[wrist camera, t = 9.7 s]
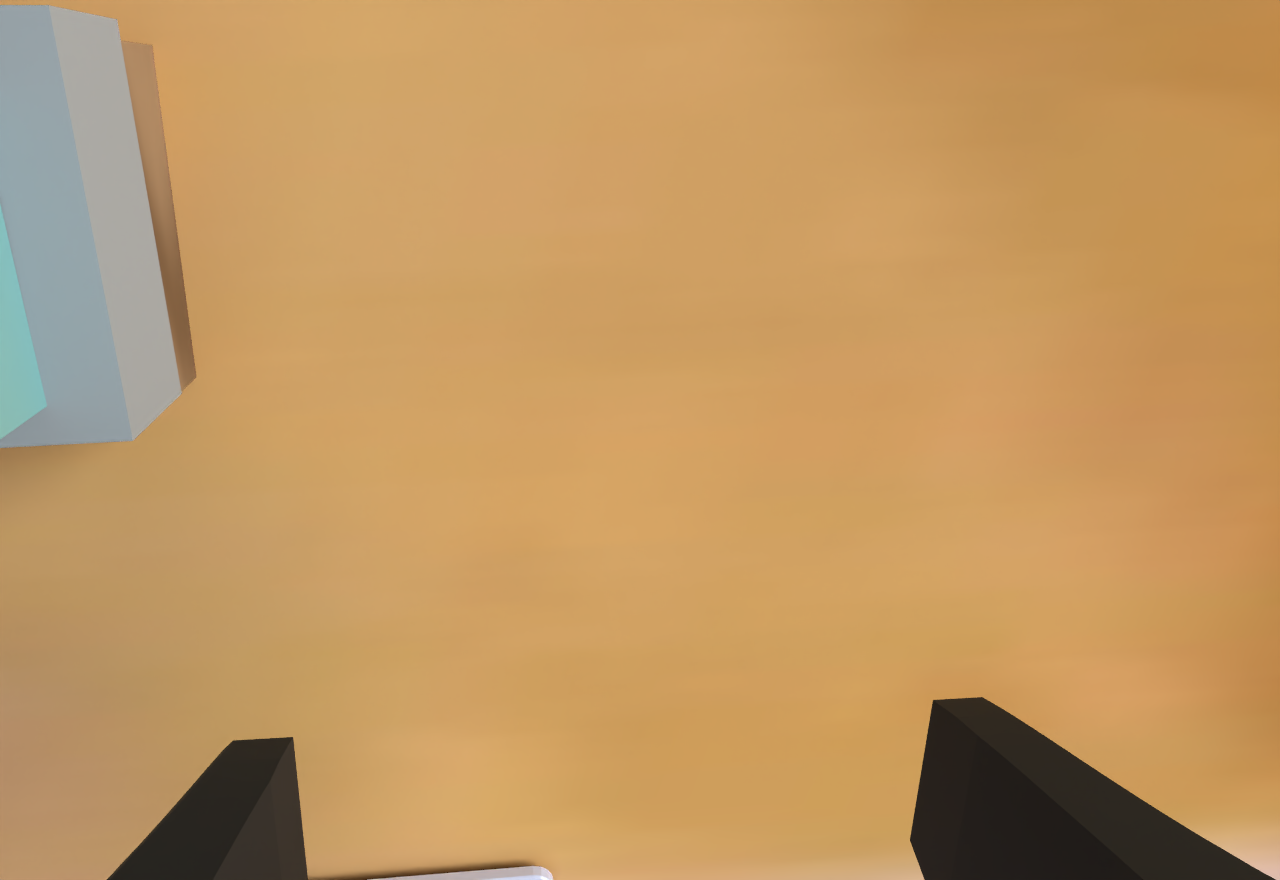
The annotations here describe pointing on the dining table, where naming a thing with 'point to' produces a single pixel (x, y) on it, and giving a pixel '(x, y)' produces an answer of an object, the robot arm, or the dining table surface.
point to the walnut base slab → (160, 197)
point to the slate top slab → (81, 229)
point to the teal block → (15, 349)
